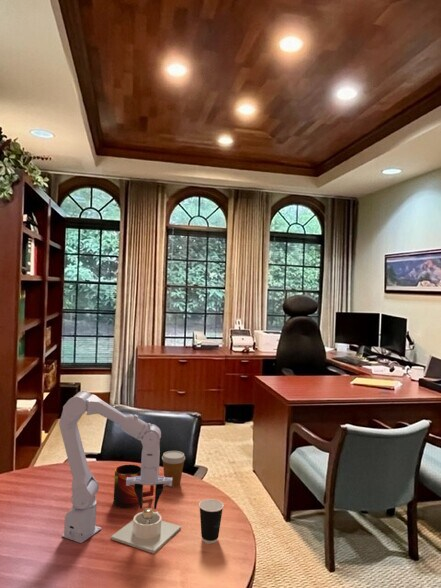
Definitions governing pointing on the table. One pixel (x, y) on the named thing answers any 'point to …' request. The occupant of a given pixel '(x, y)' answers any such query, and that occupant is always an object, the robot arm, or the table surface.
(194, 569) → the table surface
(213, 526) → the dixie cup
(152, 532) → the white square-based fixture
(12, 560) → the table surface
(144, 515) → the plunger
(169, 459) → the disposable coffee cup
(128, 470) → the mug
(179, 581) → the table surface
